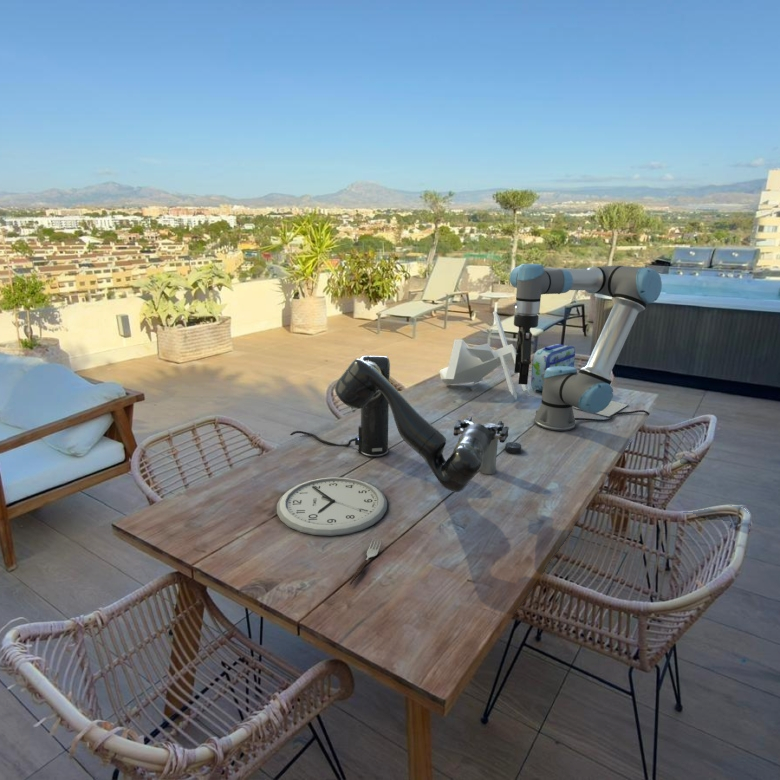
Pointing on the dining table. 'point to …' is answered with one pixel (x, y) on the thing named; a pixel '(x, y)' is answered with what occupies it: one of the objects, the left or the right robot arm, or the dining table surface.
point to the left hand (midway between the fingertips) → (485, 422)
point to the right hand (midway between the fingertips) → (520, 378)
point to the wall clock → (331, 506)
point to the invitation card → (611, 408)
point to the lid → (513, 447)
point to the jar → (490, 456)
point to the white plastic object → (479, 361)
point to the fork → (370, 554)
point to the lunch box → (550, 362)
